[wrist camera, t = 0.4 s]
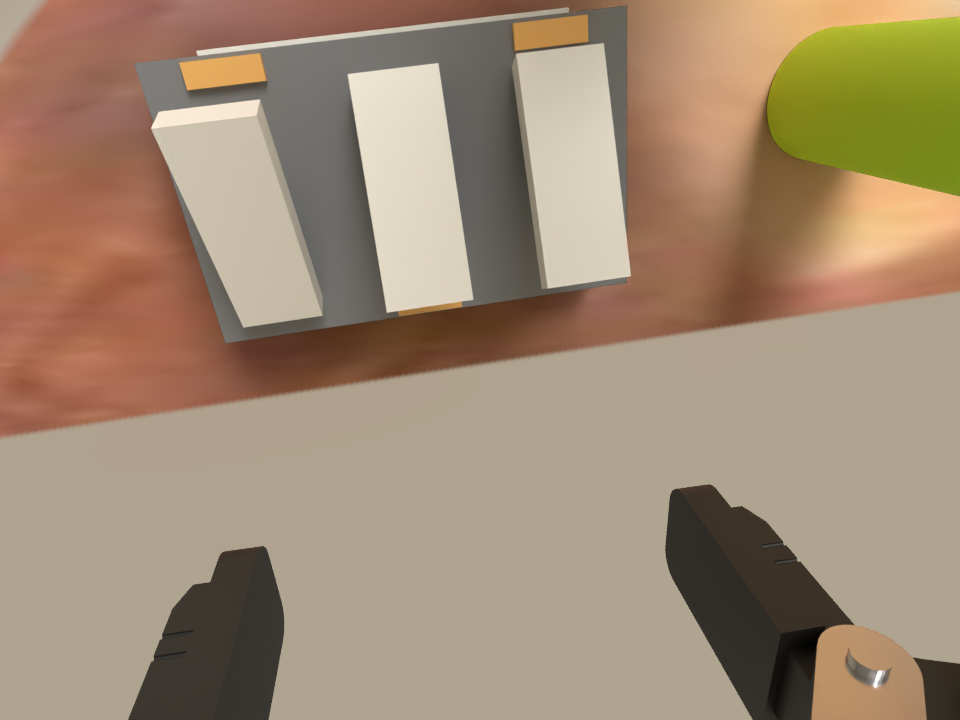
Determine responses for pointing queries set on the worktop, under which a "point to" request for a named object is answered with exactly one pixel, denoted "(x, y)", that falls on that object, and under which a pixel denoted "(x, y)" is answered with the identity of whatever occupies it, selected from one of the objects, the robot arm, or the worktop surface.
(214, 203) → the block
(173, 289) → the worktop surface
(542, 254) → the block
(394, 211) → the block
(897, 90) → the soap dispenser
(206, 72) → the switch box
